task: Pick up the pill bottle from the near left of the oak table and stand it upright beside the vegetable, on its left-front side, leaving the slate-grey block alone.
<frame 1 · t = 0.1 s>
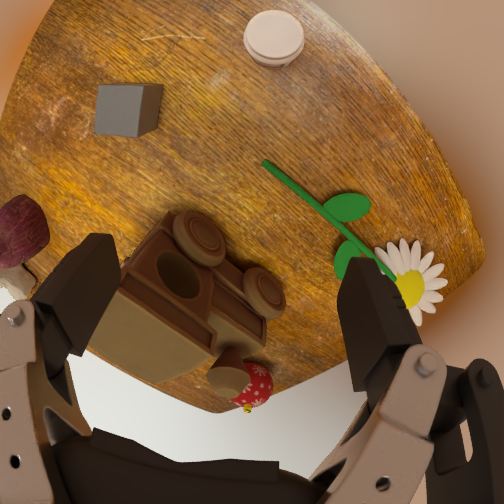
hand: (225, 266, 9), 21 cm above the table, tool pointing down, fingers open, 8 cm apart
decorative flower: (357, 236, 32), on the table
decorative stone: (19, 270, 40), on the table
grey block: (139, 104, 25), on the table
christmas ornament: (250, 365, 49), on the table
pill bottle: (272, 48, 21), on the table
vegetable: (29, 221, 34), on the table
wooden toy train: (211, 265, 36), on the table
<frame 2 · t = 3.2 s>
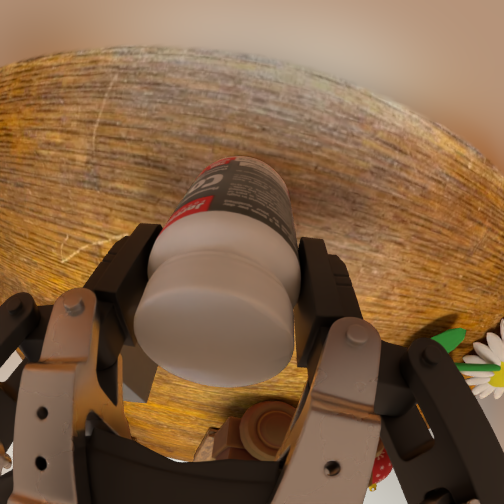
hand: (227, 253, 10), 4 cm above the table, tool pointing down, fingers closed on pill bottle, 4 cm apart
decorative flower: (451, 346, 20), on the table
picture frame: (252, 451, 39), on the table
grey block: (123, 333, 20), on the table
christmas ornament: (368, 444, 38), on the table
pill bottle: (240, 200, 13), on the table, touching gripper
wooden toy train: (298, 417, 28), on the table
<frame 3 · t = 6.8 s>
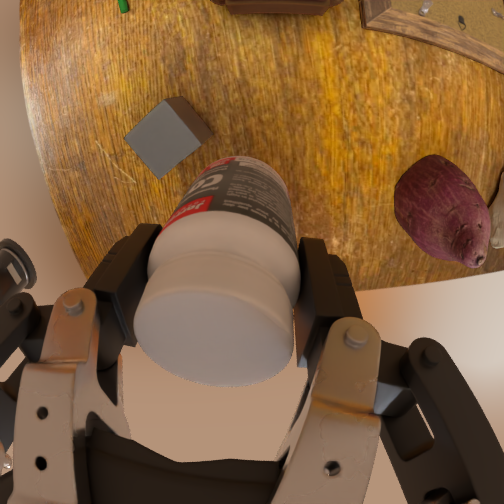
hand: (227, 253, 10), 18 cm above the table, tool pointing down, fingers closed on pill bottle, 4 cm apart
grey block: (178, 130, 24), on the table
pill bottle: (240, 200, 13), point 14 cm above the table, touching gripper
vegetable: (429, 197, 26), on the table
when the fingers open (4 cm above the table, at t = 10.7 s): pill bottle stays where it is, on the table.
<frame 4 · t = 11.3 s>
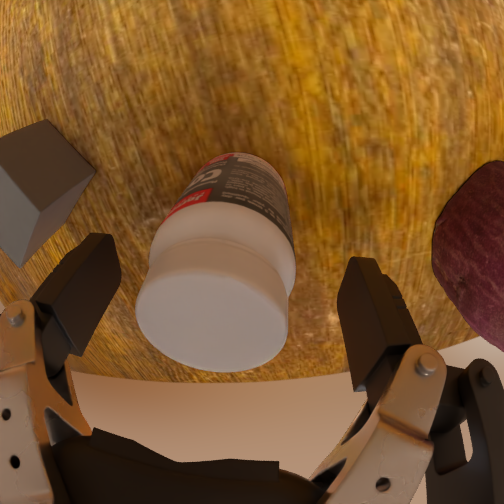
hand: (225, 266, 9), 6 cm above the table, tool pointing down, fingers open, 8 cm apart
grey block: (53, 173, 13), on the table
pill bottle: (238, 195, 14), on the table
vegetable: (484, 232, 14), on the table
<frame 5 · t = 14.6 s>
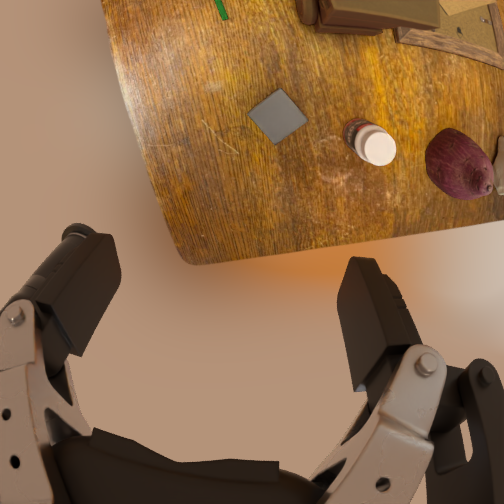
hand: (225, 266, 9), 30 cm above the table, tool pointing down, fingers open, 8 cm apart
picture frame: (448, 4, 18), on the table
grey block: (276, 112, 33), on the table
pill bottle: (358, 134, 33), on the table
vegetable: (448, 159, 33), on the table
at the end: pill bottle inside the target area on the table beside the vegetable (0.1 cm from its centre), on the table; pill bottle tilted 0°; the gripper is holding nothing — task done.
